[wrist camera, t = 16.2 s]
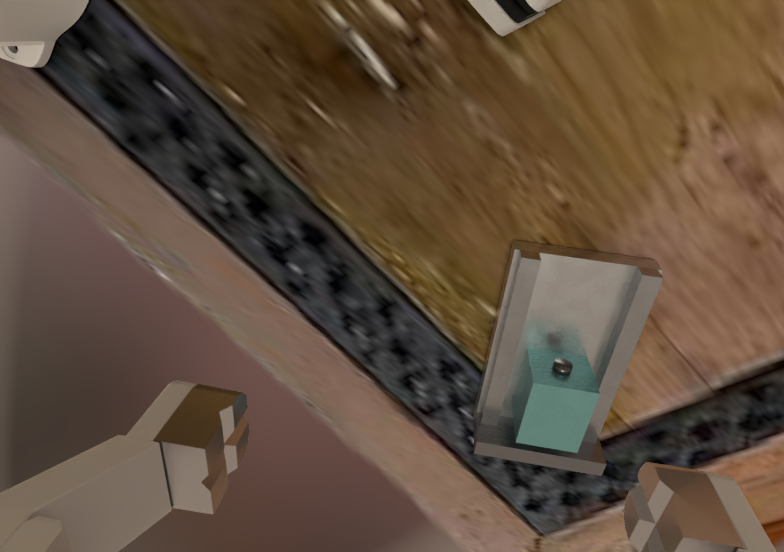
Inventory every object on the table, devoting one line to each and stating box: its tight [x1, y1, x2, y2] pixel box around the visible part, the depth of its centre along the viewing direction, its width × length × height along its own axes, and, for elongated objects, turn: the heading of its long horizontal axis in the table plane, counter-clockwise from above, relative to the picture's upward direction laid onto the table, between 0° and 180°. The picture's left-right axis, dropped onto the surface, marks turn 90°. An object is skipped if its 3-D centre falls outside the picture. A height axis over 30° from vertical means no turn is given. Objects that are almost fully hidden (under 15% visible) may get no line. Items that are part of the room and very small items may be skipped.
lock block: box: [512, 348, 600, 453], centre depth 45 cm, size 6×8×5 cm
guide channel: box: [474, 240, 663, 476], centre depth 45 cm, size 12×20×6 cm, turn 175°
